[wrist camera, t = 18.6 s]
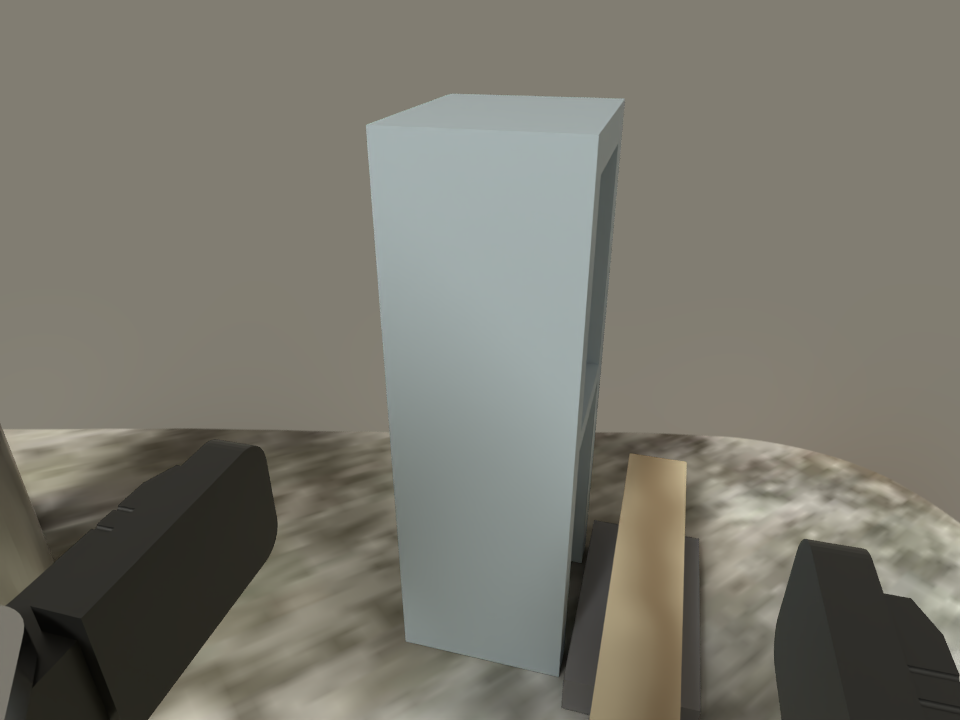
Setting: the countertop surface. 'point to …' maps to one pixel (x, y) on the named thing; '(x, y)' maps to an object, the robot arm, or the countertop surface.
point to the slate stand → (493, 357)
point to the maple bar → (645, 598)
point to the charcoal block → (593, 615)
